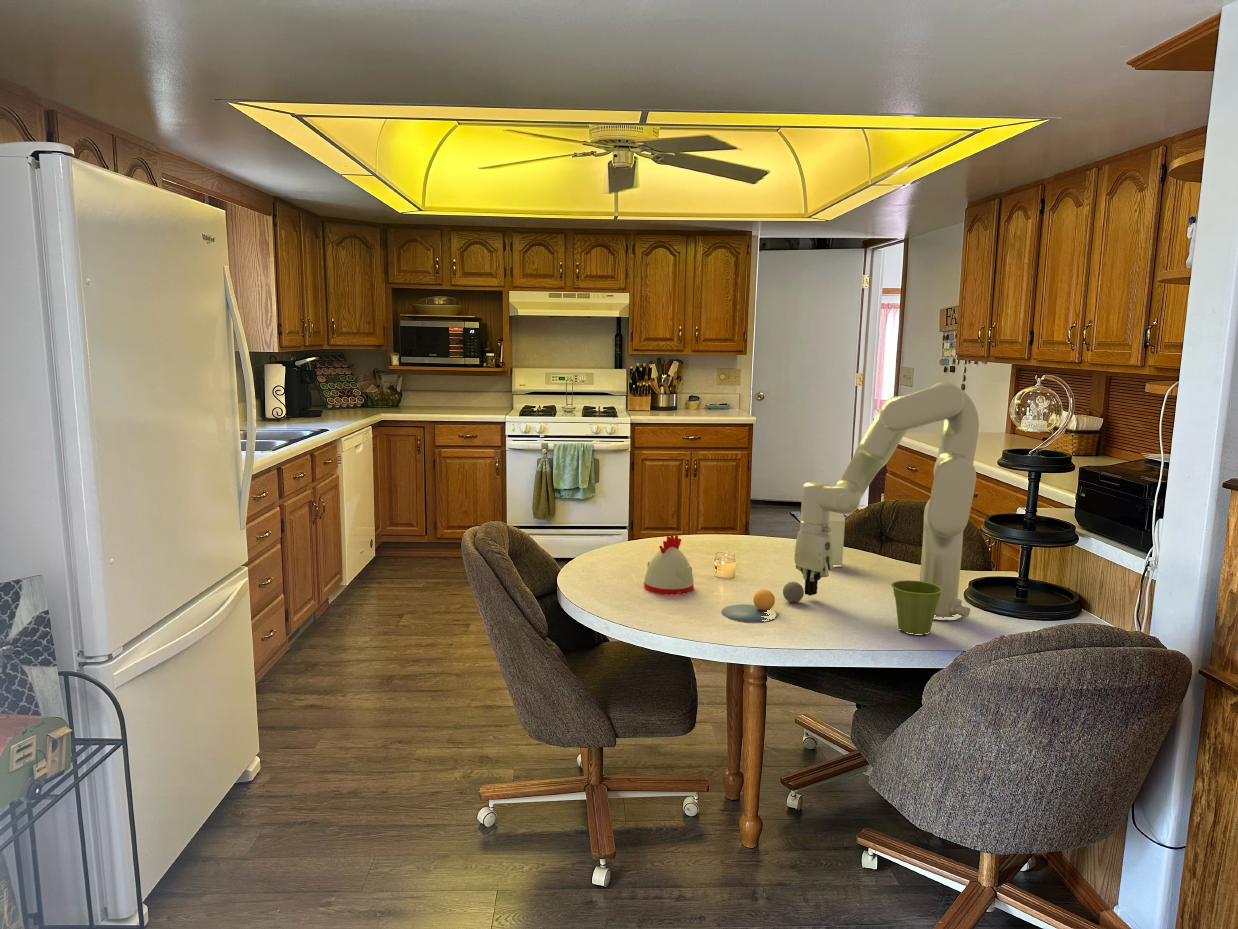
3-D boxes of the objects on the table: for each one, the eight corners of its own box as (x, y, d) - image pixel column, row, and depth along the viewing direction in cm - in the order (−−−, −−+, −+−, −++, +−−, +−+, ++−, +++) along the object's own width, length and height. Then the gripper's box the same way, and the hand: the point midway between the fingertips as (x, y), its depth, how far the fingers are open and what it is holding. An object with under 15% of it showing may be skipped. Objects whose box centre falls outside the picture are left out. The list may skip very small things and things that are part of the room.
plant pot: (927, 623, 209) (931, 580, 207) (947, 640, 197) (951, 594, 195) (881, 623, 208) (884, 579, 206) (898, 639, 196) (901, 593, 195)
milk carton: (842, 568, 259) (845, 508, 257) (819, 567, 259) (822, 507, 257) (836, 562, 266) (840, 503, 264) (814, 561, 267) (817, 503, 264)
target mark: (788, 616, 211) (788, 615, 211) (748, 626, 203) (748, 625, 203) (749, 602, 223) (749, 601, 223) (710, 610, 214) (710, 610, 214)
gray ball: (793, 581, 220) (790, 602, 219) (809, 584, 222) (806, 604, 222) (779, 579, 225) (777, 600, 224) (795, 581, 227) (793, 602, 227)
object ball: (771, 588, 213) (760, 606, 211) (782, 599, 215) (772, 617, 214) (756, 583, 217) (745, 600, 216) (767, 593, 220) (756, 611, 219)
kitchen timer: (703, 588, 234) (705, 536, 232) (670, 598, 225) (672, 544, 223) (667, 578, 244) (668, 528, 242) (634, 586, 235) (635, 534, 232)
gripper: (845, 532, 220) (841, 599, 222) (802, 521, 232) (799, 585, 234) (826, 535, 215) (822, 603, 218) (784, 524, 227) (780, 589, 230)
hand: (810, 594), depth 226 cm, fingers closed
